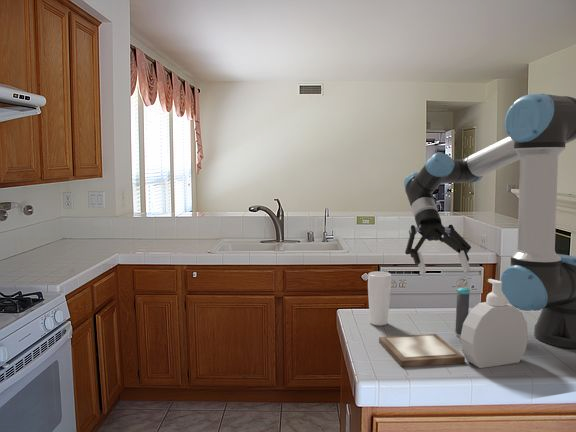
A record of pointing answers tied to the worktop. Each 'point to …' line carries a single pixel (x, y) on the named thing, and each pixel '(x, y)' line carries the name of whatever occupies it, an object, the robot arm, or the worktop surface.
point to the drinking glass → (379, 297)
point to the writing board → (420, 350)
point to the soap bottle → (494, 331)
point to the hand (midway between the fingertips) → (445, 272)
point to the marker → (461, 309)
